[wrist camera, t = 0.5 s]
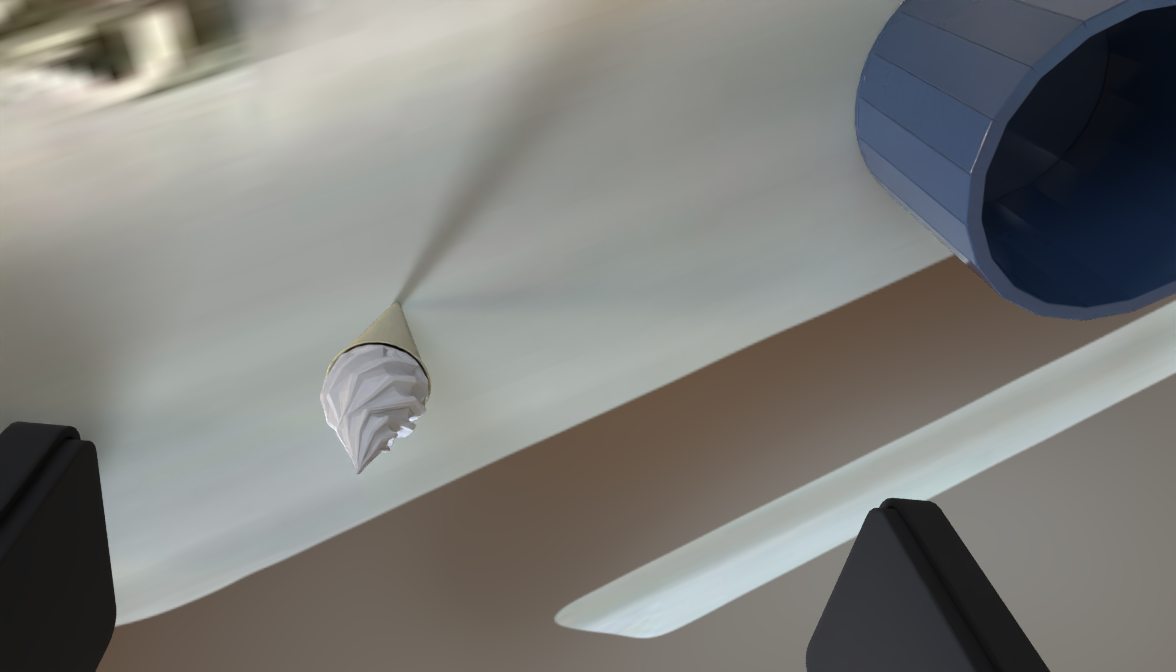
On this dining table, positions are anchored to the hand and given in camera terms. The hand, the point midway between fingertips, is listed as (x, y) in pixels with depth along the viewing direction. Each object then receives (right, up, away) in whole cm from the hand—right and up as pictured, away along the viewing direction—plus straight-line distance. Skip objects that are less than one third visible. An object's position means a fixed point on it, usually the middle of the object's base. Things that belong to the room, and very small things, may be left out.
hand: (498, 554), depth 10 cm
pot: (+22, +16, +34) cm, 44 cm away
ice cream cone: (-10, +5, +38) cm, 39 cm away
